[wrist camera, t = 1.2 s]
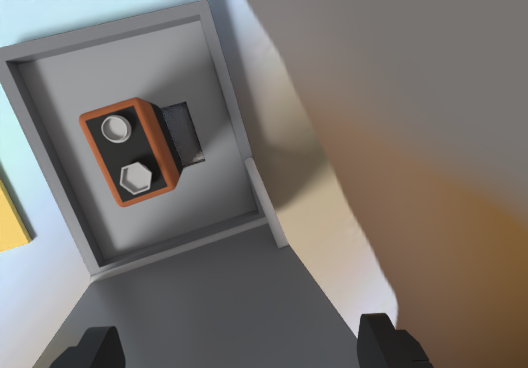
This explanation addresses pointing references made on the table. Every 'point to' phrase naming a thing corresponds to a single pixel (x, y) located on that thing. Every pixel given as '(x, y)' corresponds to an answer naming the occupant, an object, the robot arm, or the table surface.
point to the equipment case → (170, 206)
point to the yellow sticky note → (10, 223)
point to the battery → (133, 150)
